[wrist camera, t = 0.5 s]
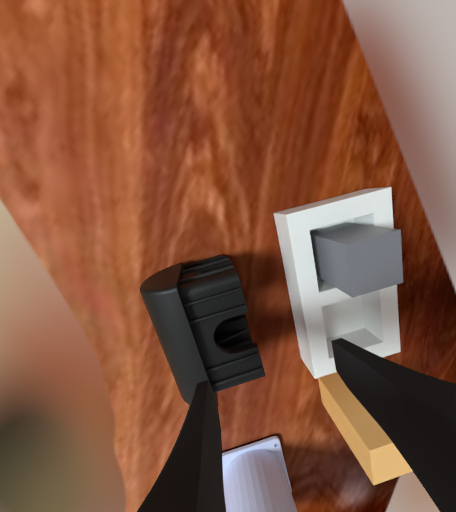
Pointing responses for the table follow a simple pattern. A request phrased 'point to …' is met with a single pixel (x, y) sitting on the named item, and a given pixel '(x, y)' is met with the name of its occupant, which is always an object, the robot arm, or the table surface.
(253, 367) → the end cap
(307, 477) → the table surface
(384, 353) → the socket strip
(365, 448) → the tan rectangular block
